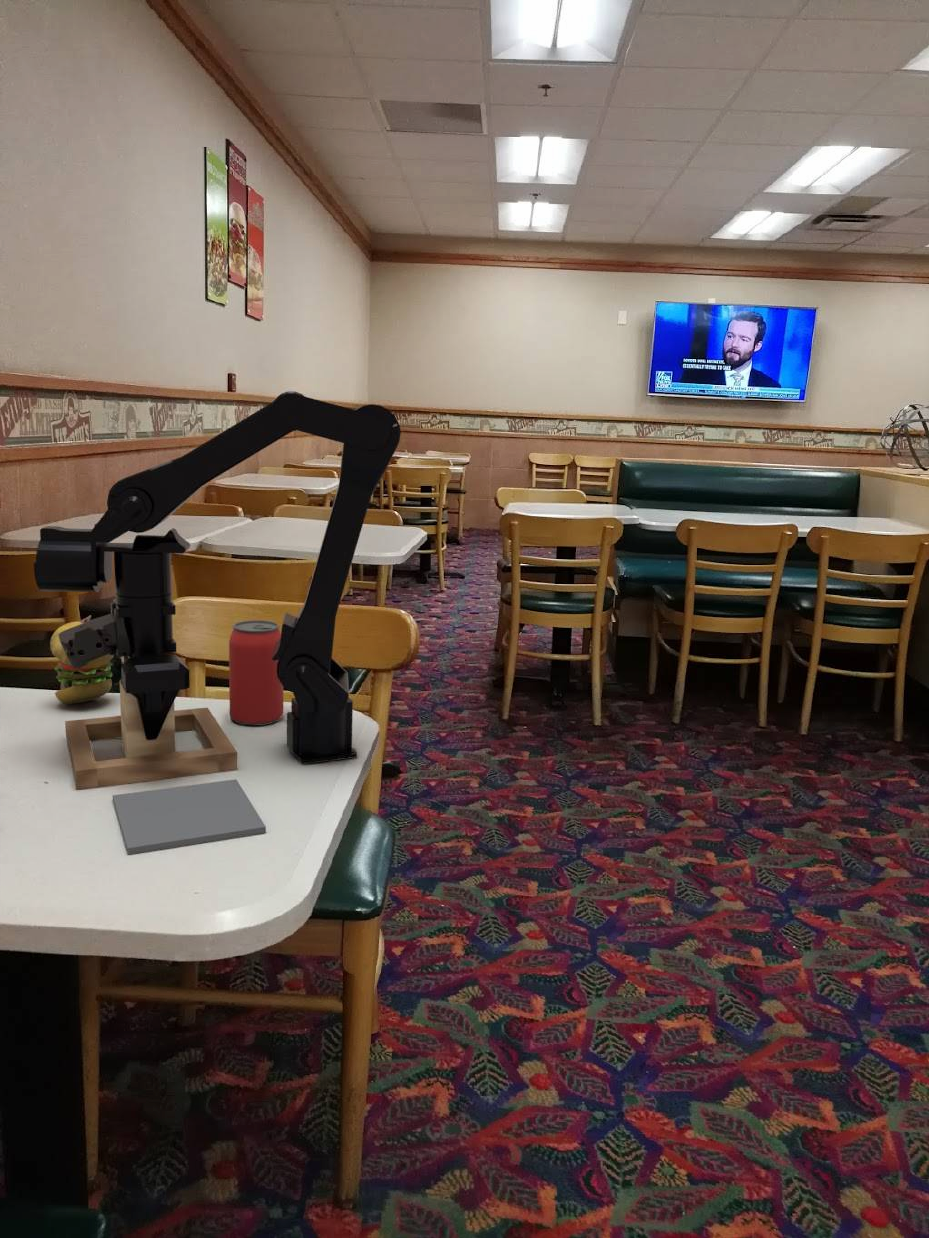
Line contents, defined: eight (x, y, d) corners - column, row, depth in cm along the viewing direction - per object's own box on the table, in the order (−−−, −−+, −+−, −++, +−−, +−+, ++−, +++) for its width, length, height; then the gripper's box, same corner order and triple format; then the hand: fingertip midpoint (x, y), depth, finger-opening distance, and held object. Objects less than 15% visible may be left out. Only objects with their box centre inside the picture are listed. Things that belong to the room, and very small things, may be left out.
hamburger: (98, 692, 124) (95, 604, 121) (128, 704, 119) (125, 613, 116) (41, 704, 118) (36, 611, 115) (71, 717, 113) (66, 622, 111)
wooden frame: (207, 723, 114) (207, 707, 113) (237, 769, 100) (237, 751, 99) (66, 737, 107) (65, 721, 106) (76, 789, 93) (75, 771, 92)
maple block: (168, 743, 106) (166, 676, 105) (175, 758, 102) (173, 688, 100) (122, 748, 104) (119, 679, 102) (127, 763, 100) (125, 692, 98)
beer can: (270, 729, 112) (270, 633, 110) (220, 723, 114) (219, 628, 111) (291, 713, 119) (291, 621, 116) (243, 707, 120) (242, 617, 117)
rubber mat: (236, 784, 96) (236, 779, 96) (265, 832, 85) (265, 826, 85) (112, 801, 90) (112, 795, 90) (127, 854, 80) (127, 848, 80)
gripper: (56, 580, 104) (63, 713, 107) (67, 615, 88) (75, 770, 91) (160, 576, 109) (163, 704, 112) (189, 609, 92) (191, 757, 96)
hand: (147, 731), depth 103 cm, fingers closed on maple block, 5 cm apart
